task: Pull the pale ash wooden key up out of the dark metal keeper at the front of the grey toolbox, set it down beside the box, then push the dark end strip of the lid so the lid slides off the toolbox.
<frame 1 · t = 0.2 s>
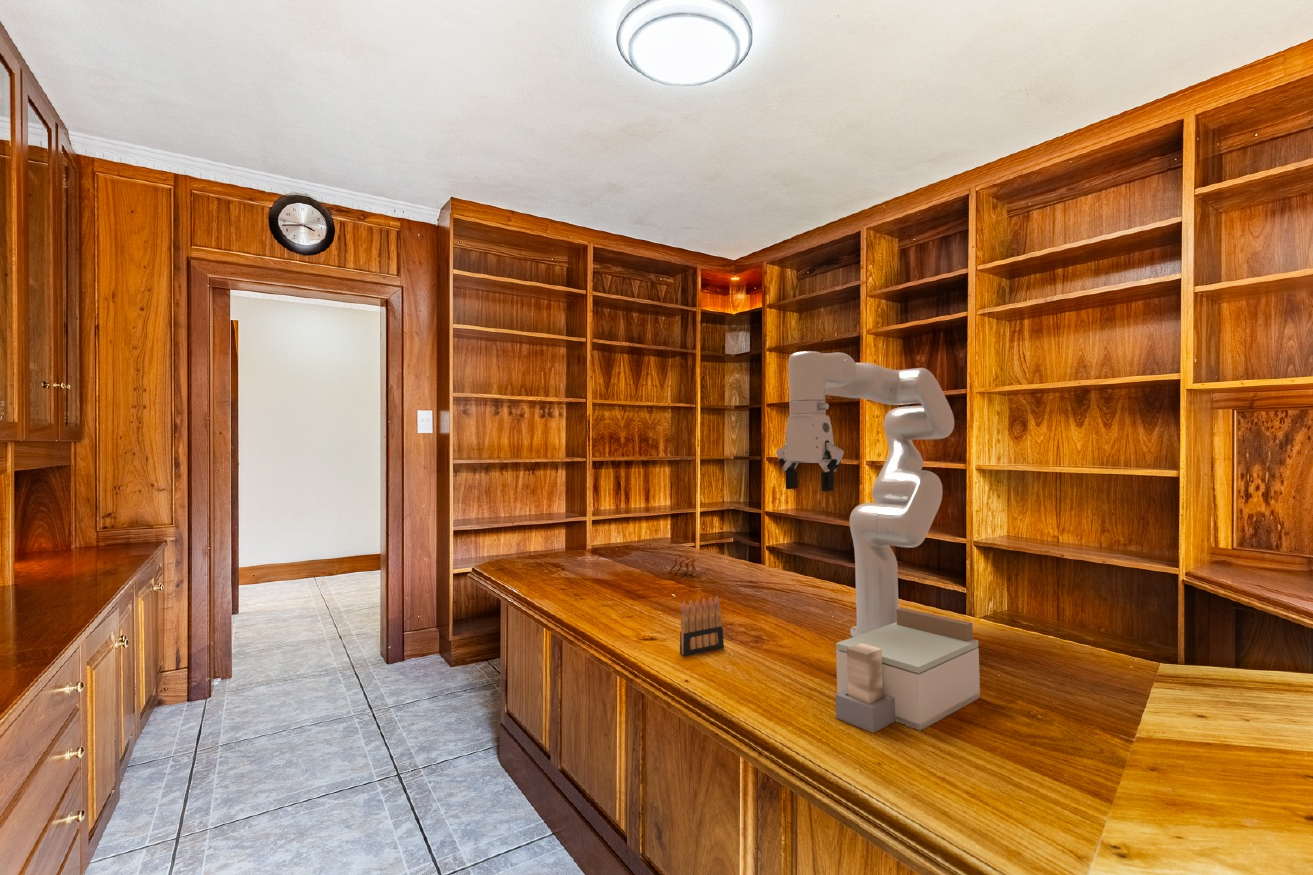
hand: (809, 489, 134), 37 cm above the worktop, tool pointing down, fingers open, 9 cm apart
ammunition clip: (702, 652, 142), on the worktop
wooden key: (865, 719, 106), resting in toolbox
toolbox lid: (906, 636, 114), point 11 cm above the worktop, slide at 0.0 cm
toolbox: (908, 698, 114), on the worktop
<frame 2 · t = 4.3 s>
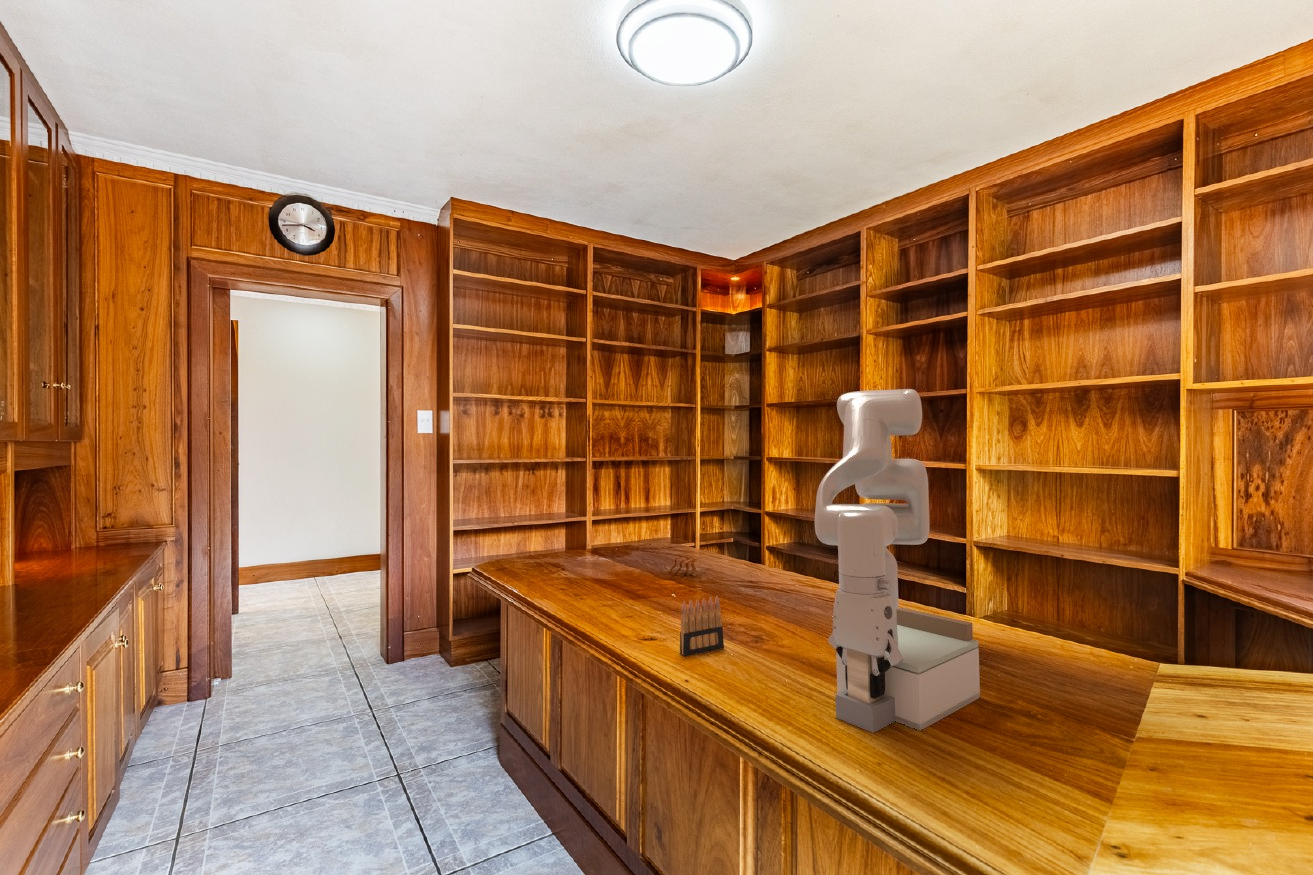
hand: (865, 690, 106), 5 cm above the worktop, tool pointing down, fingers closed on wooden key, 4 cm apart
wooden key: (865, 719, 106), resting in toolbox, touching gripper
everything else where it was.
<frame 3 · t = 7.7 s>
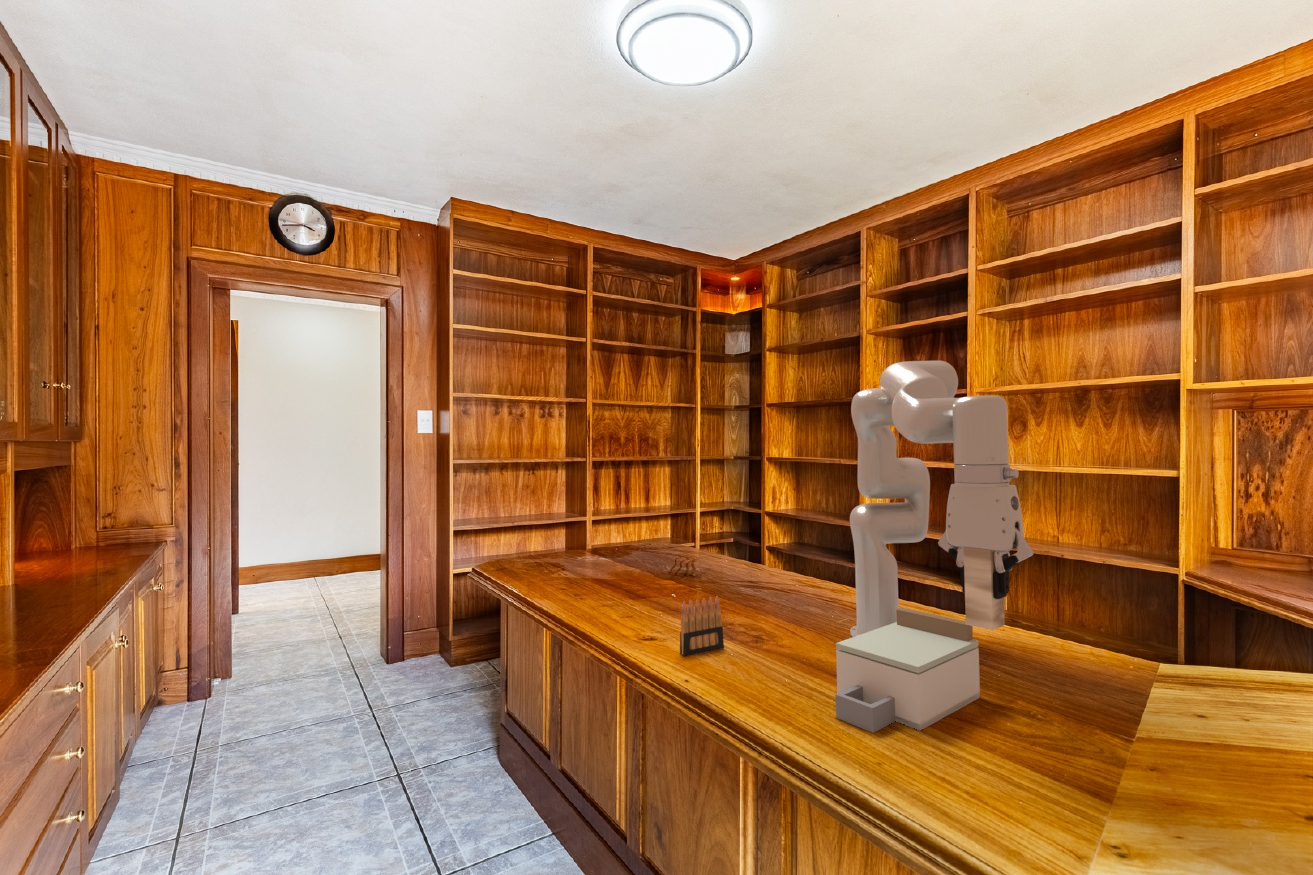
hand: (984, 593, 97), 23 cm above the worktop, tool pointing down, fingers closed on wooden key, 4 cm apart
wooden key: (985, 624, 97), point 18 cm above the worktop, touching gripper
everything else where it was.
when the fingers open (6 cm above the worktop, at t = 11.1 s): wooden key drops 1 cm, on the worktop.
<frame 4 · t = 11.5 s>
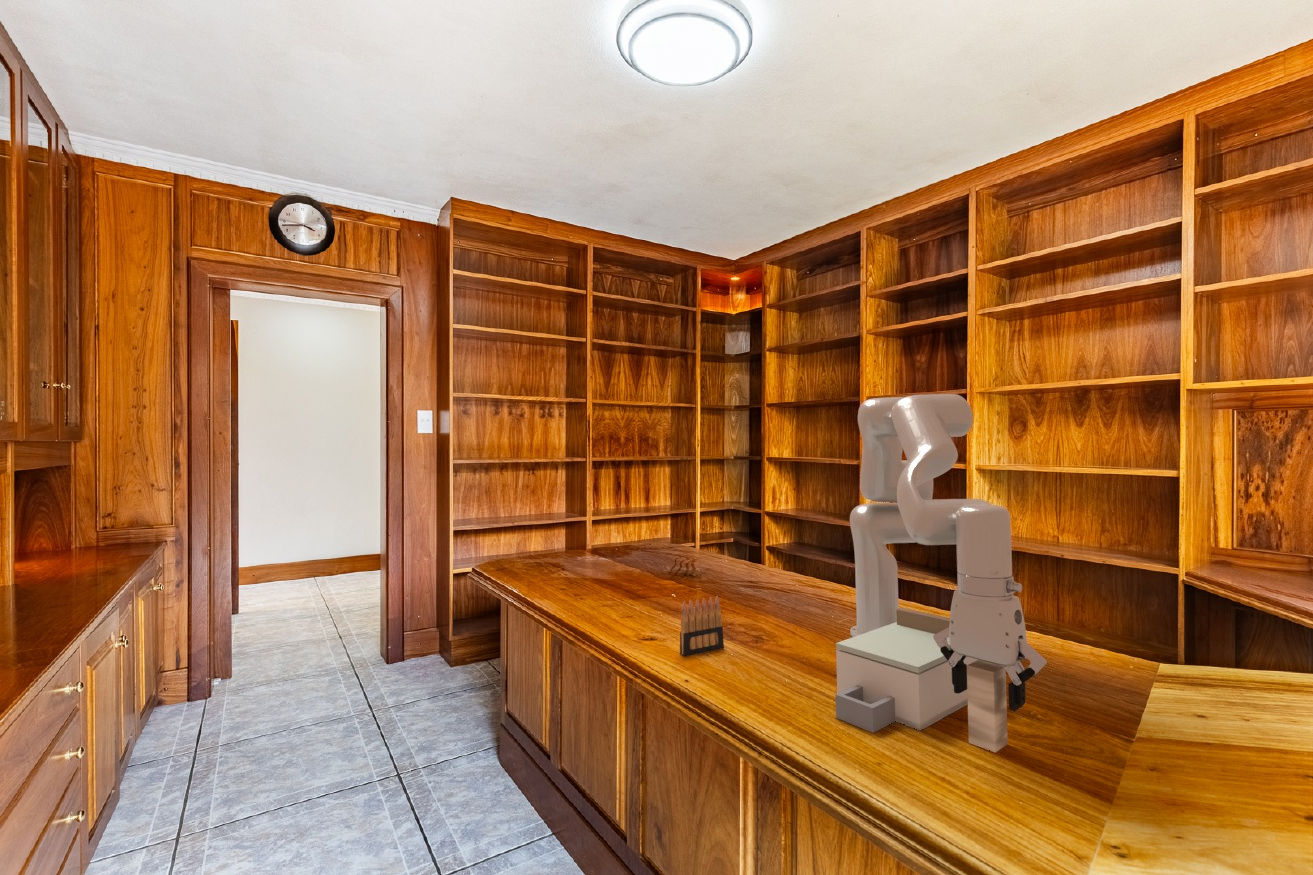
hand: (987, 698, 97), 7 cm above the worktop, tool pointing down, fingers open, 7 cm apart
wooden key: (988, 743, 97), on the worktop
everything else where it was.
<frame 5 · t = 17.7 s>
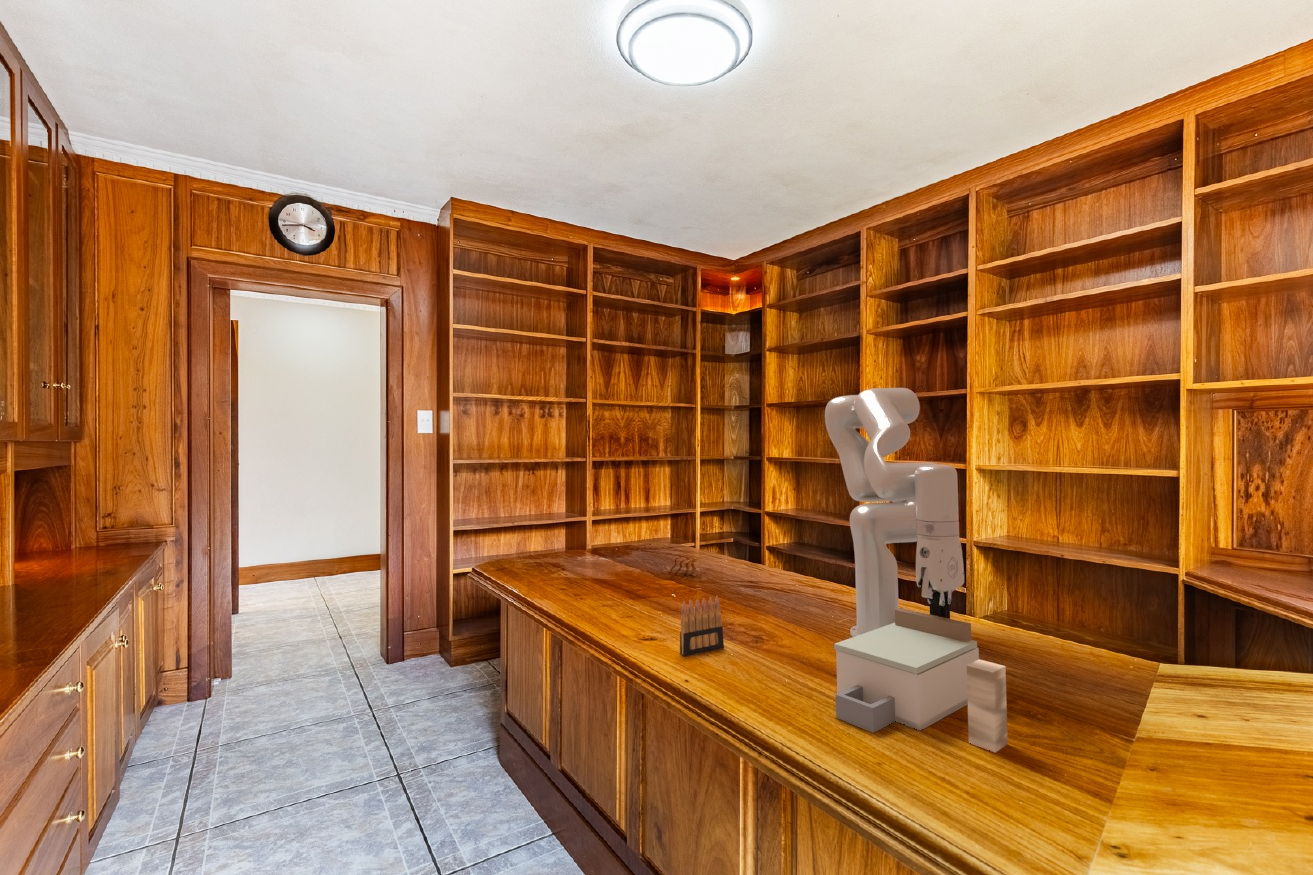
hand: (940, 624, 121), 11 cm above the worktop, tool pointing down, fingers closed
toolbox lid: (905, 636, 114), point 11 cm above the worktop, slide at 0.5 cm, touching gripper
everything else where it was.
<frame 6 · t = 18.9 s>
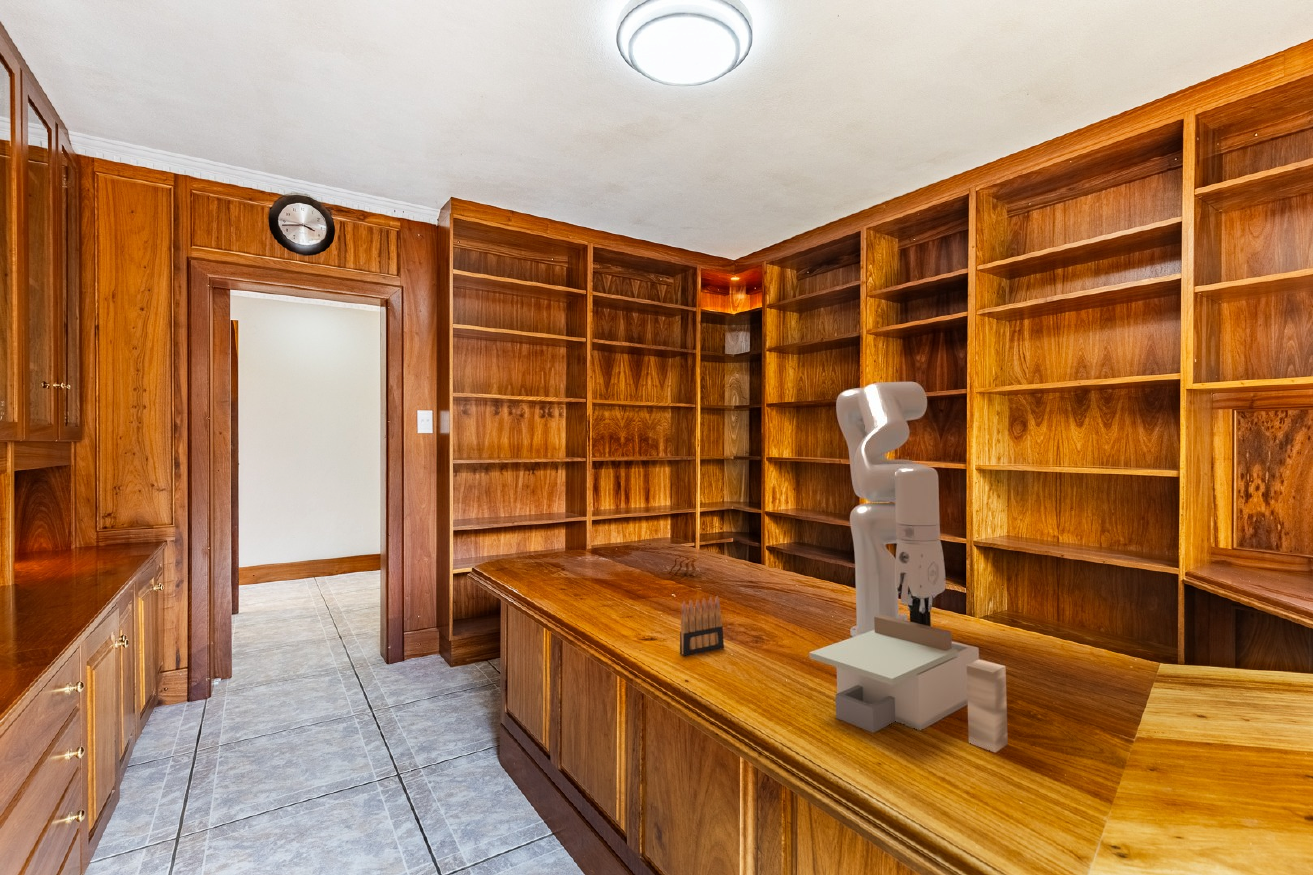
hand: (920, 631, 117), 11 cm above the worktop, tool pointing down, fingers closed
toolbox lid: (882, 645, 110), point 11 cm above the worktop, slide at 7.5 cm, touching gripper
everything else where it was.
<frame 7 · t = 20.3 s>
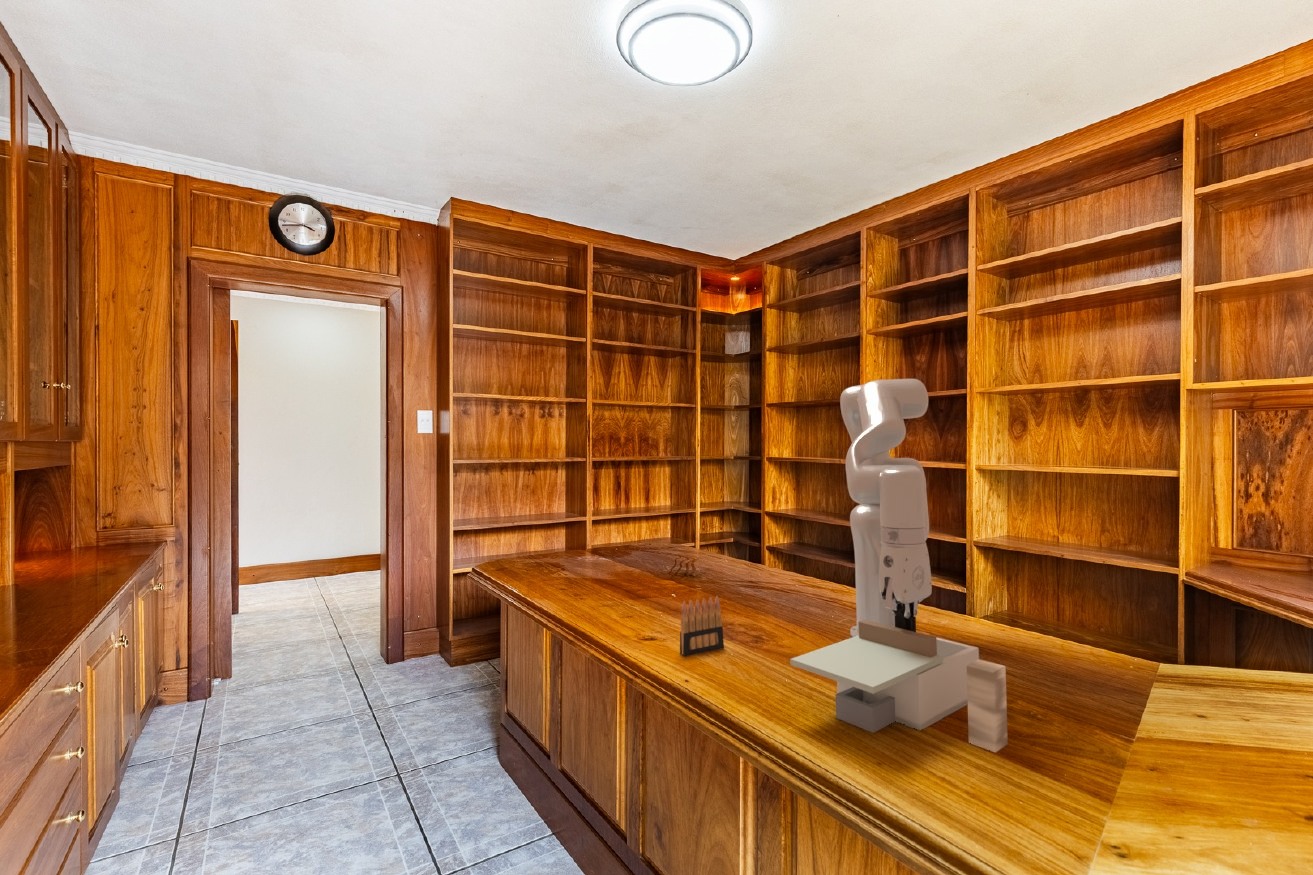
hand: (905, 637, 114), 11 cm above the worktop, tool pointing down, fingers closed
toolbox lid: (866, 651, 107), point 11 cm above the worktop, slide at 12.5 cm, touching gripper
everything else where it was.
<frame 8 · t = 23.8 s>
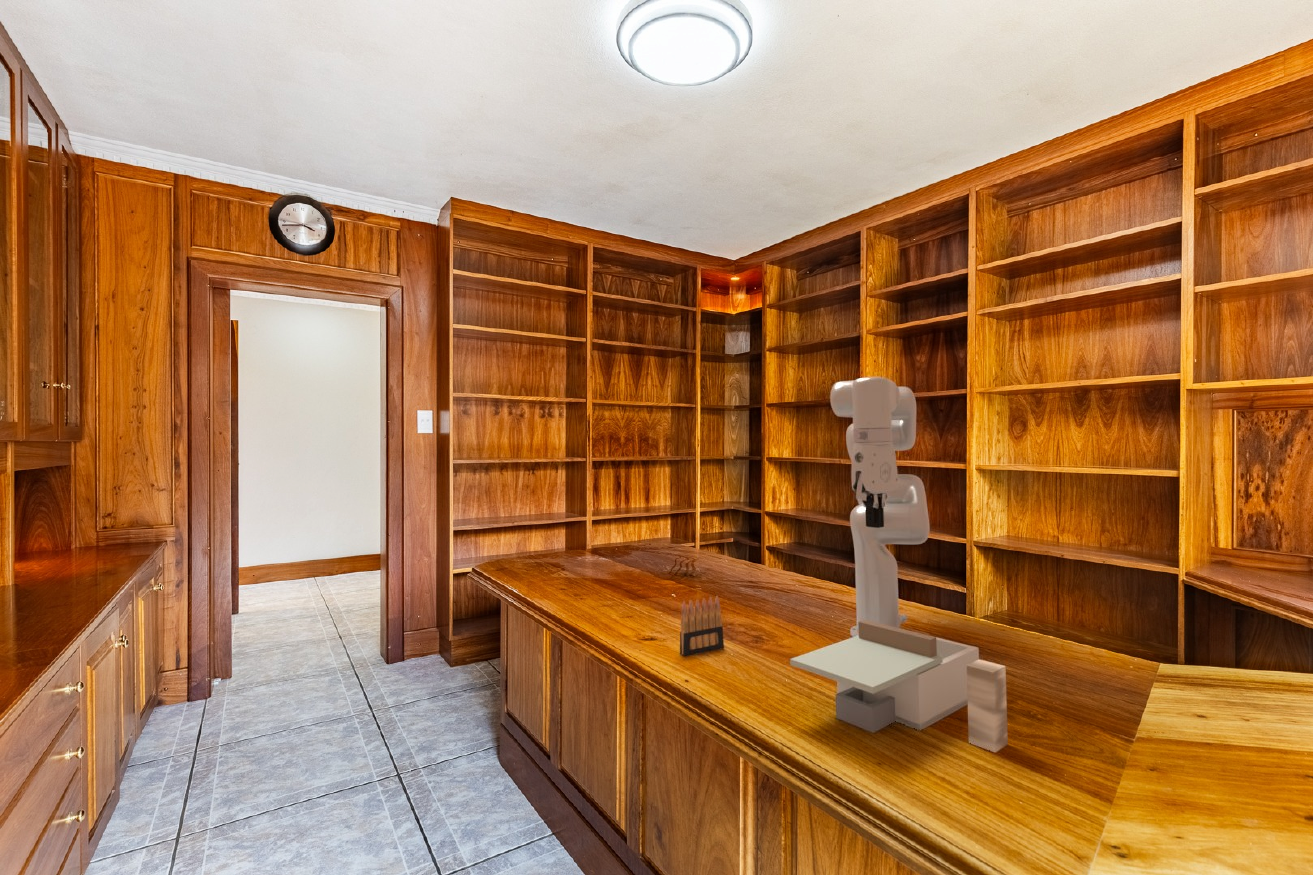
hand: (874, 526, 129), 29 cm above the worktop, tool pointing down, fingers closed
toolbox lid: (865, 651, 106), point 11 cm above the worktop, slide at 12.5 cm
everything else where it was.
at the end: toolbox lid slide at 12.5 cm; wooden key inside the target area (0.1 cm from its centre), on the worktop; the gripper is holding nothing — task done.
